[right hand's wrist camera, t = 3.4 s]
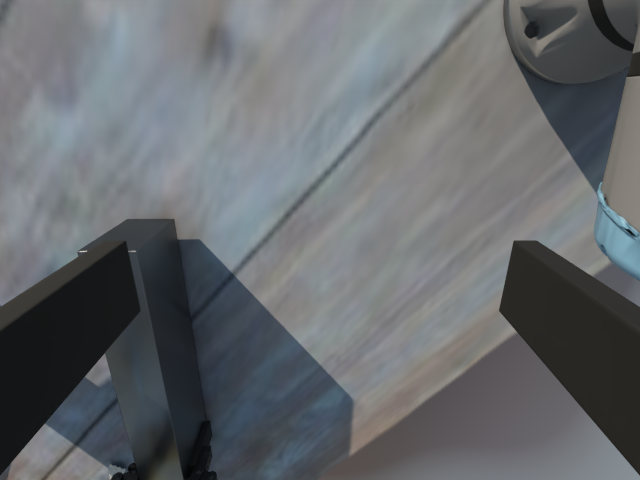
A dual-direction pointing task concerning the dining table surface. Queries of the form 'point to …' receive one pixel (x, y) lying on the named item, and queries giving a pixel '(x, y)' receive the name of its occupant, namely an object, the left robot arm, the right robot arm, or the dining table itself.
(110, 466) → the fork
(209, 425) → the left robot arm
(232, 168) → the dining table surface
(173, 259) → the bar
